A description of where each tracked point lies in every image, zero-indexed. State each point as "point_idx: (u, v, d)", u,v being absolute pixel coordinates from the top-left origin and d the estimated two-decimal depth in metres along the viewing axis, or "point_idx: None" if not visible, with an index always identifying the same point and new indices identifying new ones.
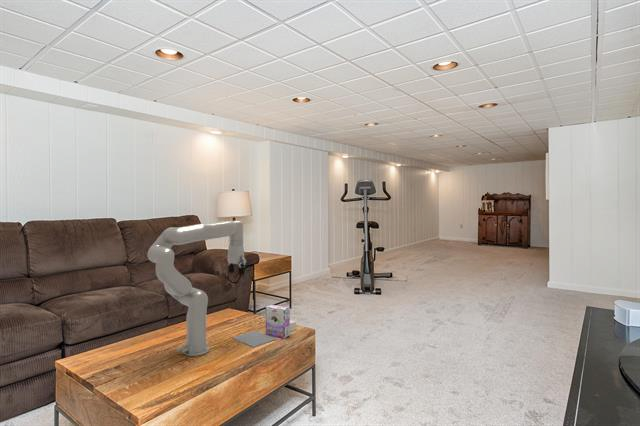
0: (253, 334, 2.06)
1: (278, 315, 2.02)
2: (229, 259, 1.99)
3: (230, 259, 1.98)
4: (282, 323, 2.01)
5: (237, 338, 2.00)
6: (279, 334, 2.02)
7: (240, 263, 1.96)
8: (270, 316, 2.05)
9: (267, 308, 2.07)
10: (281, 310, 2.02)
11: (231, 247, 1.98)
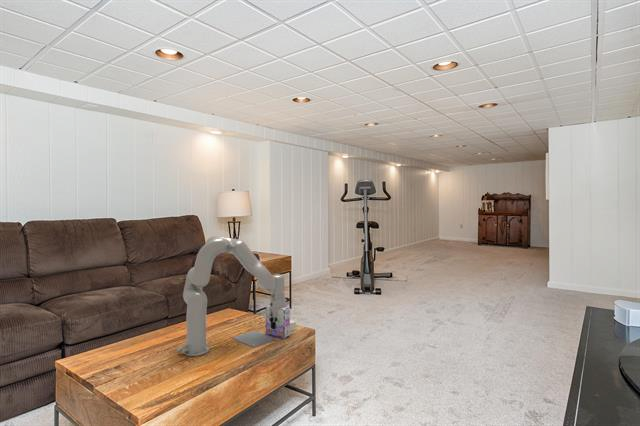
0: (253, 334, 2.06)
1: (279, 314, 2.02)
2: (277, 314, 2.03)
3: None
4: (282, 322, 2.01)
5: (237, 338, 2.00)
6: (279, 333, 2.02)
7: None
8: None
9: (267, 308, 2.07)
10: (281, 310, 2.02)
11: (280, 301, 2.04)
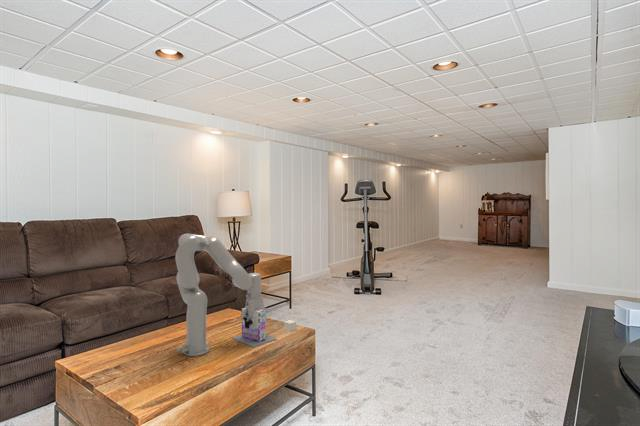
0: None
1: (254, 317, 1.96)
2: None
3: None
4: (257, 325, 1.95)
5: (237, 338, 2.00)
6: (254, 337, 1.96)
7: None
8: None
9: (243, 311, 2.01)
10: (256, 312, 1.95)
11: (256, 300, 1.98)
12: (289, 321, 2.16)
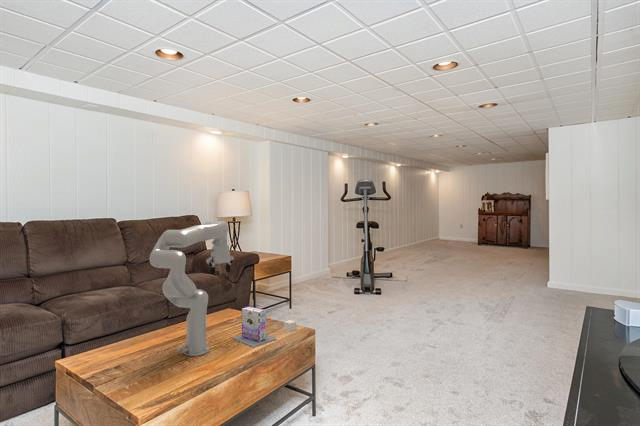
0: None
1: (254, 317, 1.96)
2: (219, 260, 2.00)
3: (220, 259, 2.00)
4: (257, 325, 1.95)
5: (237, 338, 2.00)
6: (254, 337, 1.96)
7: None
8: (246, 319, 1.99)
9: (243, 311, 2.01)
10: (256, 312, 1.95)
11: (221, 247, 2.01)
12: (289, 321, 2.16)
